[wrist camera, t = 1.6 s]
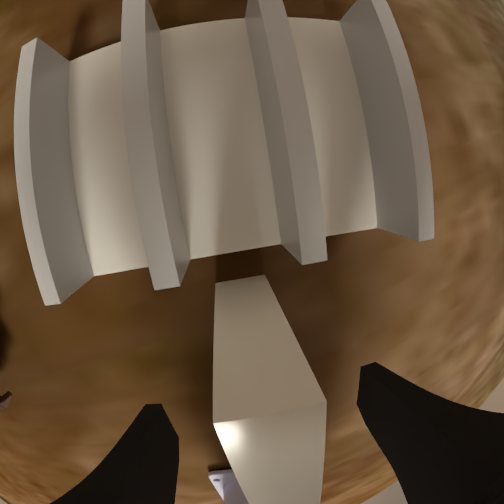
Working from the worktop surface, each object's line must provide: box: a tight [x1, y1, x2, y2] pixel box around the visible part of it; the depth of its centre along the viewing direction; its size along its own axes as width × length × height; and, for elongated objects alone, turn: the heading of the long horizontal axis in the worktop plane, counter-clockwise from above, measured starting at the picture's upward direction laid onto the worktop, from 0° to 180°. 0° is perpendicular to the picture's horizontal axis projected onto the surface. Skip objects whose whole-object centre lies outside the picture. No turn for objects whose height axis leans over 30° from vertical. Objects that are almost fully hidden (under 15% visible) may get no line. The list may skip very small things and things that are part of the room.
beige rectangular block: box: [213, 275, 327, 504], centre depth 9 cm, size 7×2×8 cm, turn 8°
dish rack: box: [14, 0, 434, 306], centre depth 9 cm, size 10×15×4 cm, turn 98°
